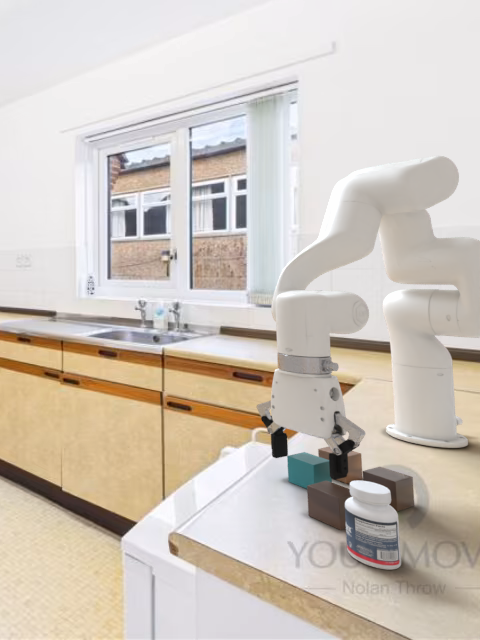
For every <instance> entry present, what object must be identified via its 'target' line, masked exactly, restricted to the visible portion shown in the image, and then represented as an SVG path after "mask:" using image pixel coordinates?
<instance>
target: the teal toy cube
mask: <svg viewBox="0 0 480 640" xmlns="http://www.w3.org/2000/svg"><path fill="white" fill-rule="evenodd" d="M286 458H287V478H288V479H287V480H288V483H291V484H293V485H296V486H298V487H300V488H304V489H306V490H307V486H308V485H311V484H315V483H319V482H323V481H329V482H332V483H333V479H332V478H331V477H330V469H329V460H327V459H324V458H321V457H319V455H314V454H312V453H309V452H305V451H303V452H298V453H294V454H290V455H289V454H288V456H286Z"/></svg>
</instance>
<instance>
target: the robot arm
mask: <svg viewBox="0 0 480 640" xmlns="http://www.w3.org/2000/svg"><path fill="white" fill-rule="evenodd" d="M459 181H460V173H459V169H458V166H457V165H456V164H455V162H454V161H453V160H452V159H450V158H448V157H447V156H444V155H432V156H426V157H420V158H415V159H414V158H413V159H408V160H402V161H397V162H389V163H385V164H379V165H373V166H369V167H364V168H360V169H357V170H355V171H353V172H350V173H349V174H348V175H347V176H345V177H343V178H342V179H340V180H338V182H336V183H335V185H334V186H333V189H332V191H331V195H330V198H329V200H328V204H327V208H326V212H325V214H324V218H323V221H322V224H321V228H320V231H319V235H318V237H317V239H316V240H315V241H313V242H312V243H311V244H309V245H308V246H307V247H305V248H304V249H303V250H302V251H300V252H299V253H298V254H297V255H296V256H295V257H293V258H292V260H290V261H289V262H288V263H287V264H286V265H285V267H284V268H283V269H282V271H281V272H280V274H279V277H278V279H277V282H276V286H275V288H274V291H273V294H272V299H271V307H270V308H271V309H270V311H271V315H272V318H273V320H274V322H275V328H276V329H275V330H276V351H277V352H276V354H277V355H276V357H277V368H276V369H274V373H273V376H272V384H271V393H270V394H271V395H270V400H268V401H264V402H261V403H259V404H256V409H257V412H258V414H259V416H260V420H261V422H262V423H263V425H264V426H265V427H266V431H267V433H268V434H269V435H270V449H271V455H272V458H274V459H280V458H284V457H285V458H286V457H287V456H289V448H288V447H289V446H288V435H287V432H285V430H290V431H294V432H297V433H300V434H304V435H307V436H311V437H315V438H318V439H323V440H324V442H325V444H327V447H330V448H331V450H332V451H333V453H330V454H329V469H330V477H331V478H332V480H335V481H337V480H336V479H340V478H345V477H346V476H347V474H348V453H350V452H351V451H354V450H355V449H357V448H358V447H360V445H361V442H362V441H363V439H364V438H365V436H366V431H365V430H364V429H363V428H362V427H360V426H359V425H357V424H355V423H354V422H353V421H351V420H350V419H349V418H347V416H346V415H347V414H346V409H345V402H344V396H343V392H342V388H341V384H340V382H339V378H338V376H337V375H333V372H337V371H338V370H339V363H338V362H333V361H332V357H331V355H332V354H331V335H330V334H335V335H351V334H355V333H357V332H360V331H361V330H362V329H364V327H365V326H366V325H367V323H368V321H369V318H370V310H369V307H368V304H367V302H366V301H365V300H364V299H363V298H362V297H361V296H359V295H358V294H356V293H354V292H350V291H346V290H345V291H343V290H317V289H315V290H314V289H313V290H312V289H307V288H308V286H309V285H310V284H311V283H312V282H313V281H315V280H316V279H317V278H319V277H321V276H322V275H324V274H326V273H329V272H331V271H334V270H337V269H339V268H341V267H342V268H343V267H345V266H347V265H350V264H352V263H355V262H358V261H360V260H362V259H364V258H366V257H368V256H369V255H370V254H371V253H372V252H373V251H374V249H375V245H376V240H377V237H379V244H380V250H381V256H382V262H383V266H384V270H385V273H386V276H387V277H388V279H389V280H391V281H392V282H393V283H395V284H396V283H397V284H403V285H425V286H426V285H428V286H429V285H431V286H432V285H433V286H435V285H436V286H437V285H438V286H439V285H440V286H441V285H443V286H445V285H446V286H448V285H449V286H454V287H456V289H439V288H438V289H437V288H434V289H433V288H409V289H408V288H407V289H405V288H404V289H399V290H395V291H392V292H390V293H389V294H387V295H386V297H384V298H383V301H382V313H383V318H384V322H385V325H386V328H387V333H388V338H389V347H390V359H391V361H390V362H391V377H392V378H391V380H392V395H393V412H394V414H393V415H394V423H390V424H388V425H386V426H385V432H386V433H387V434H388V435H389V436H391V437H393V438H395V439H398V440H400V441H404V442H406V443H413V444H416V445H422V446H427V447H434V448H445V449H458V448H465V447H467V446H468V445H469V439H468V438H467V437H466V436H464V435H463V434H461V433H458V430H457V426H458V427H459V426H461V425H462V424H463V422H464V421H463V419H462V418H461V417H460V416H457V414H456V400H455V399H456V398H455V384H454V383H455V382H454V367H453V357H452V355H451V353H450V351H449V350H448V348H447V347H446V346H445V345H444V344H443V343H442V342H441V341H440V339H438V338H437V337H436V336H438V337H439V336H442V337H443V336H444V337H454V338H455V337H456V338H471V339H472V338H473V339H480V240H479V239H477V238H474V237H469V236H455V237H436V235H435V234H434V230H433V223H432V220H431V215H430V213H429V211H428V210H427V209H429V208H432V207H434V206H437V204H439V203H441V202H444V201H446V200H447V199H449V198H450V197H451V196H452V195H453V194H454V193H455V192H456V190H457V188H458V185H459ZM347 433H348V437H347V439H345V438H344V436H346V435H347Z"/></svg>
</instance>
